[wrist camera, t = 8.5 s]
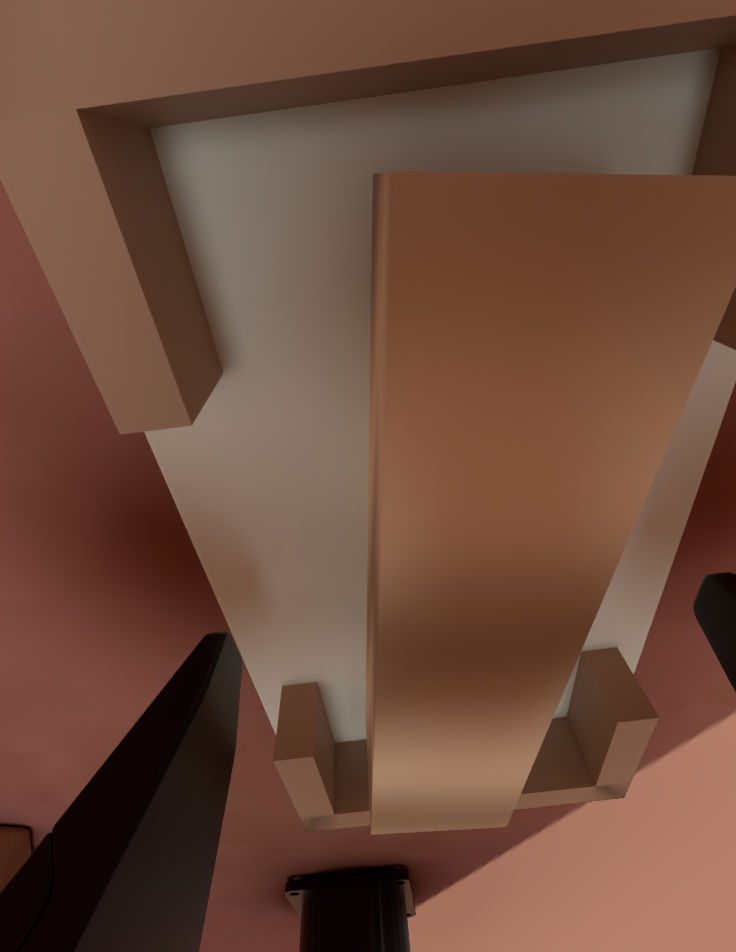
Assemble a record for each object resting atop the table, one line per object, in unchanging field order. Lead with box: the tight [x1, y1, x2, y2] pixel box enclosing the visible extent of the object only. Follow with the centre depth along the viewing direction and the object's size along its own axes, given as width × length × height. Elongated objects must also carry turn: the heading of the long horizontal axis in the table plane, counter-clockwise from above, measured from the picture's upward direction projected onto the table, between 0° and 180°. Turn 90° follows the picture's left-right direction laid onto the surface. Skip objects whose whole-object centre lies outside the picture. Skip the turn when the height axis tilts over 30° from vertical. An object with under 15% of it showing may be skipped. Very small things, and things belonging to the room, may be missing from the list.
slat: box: [366, 171, 736, 835], centre depth 9 cm, size 14×4×3 cm, turn 179°
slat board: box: [0, 0, 736, 832], centre depth 10 cm, size 22×11×3 cm, turn 7°
